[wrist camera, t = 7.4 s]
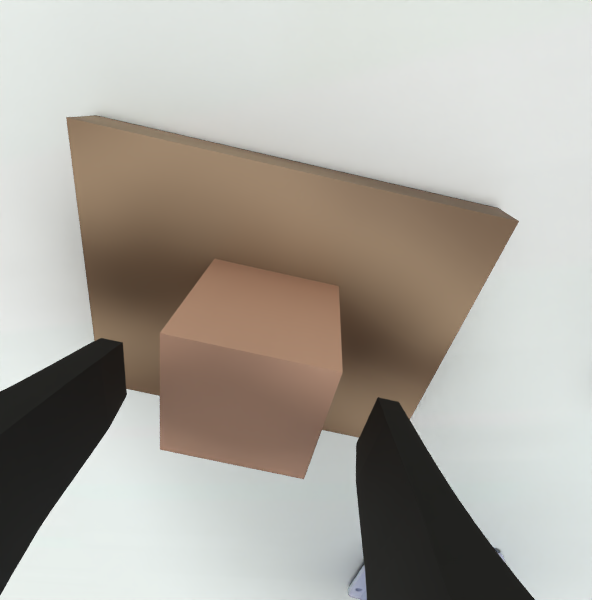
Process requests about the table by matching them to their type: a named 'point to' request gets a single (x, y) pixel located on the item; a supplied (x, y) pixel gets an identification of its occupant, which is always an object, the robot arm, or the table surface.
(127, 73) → the table surface
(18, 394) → the robot arm
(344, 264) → the base board
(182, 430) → the terracotta cube
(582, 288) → the table surface
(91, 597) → the table surface
